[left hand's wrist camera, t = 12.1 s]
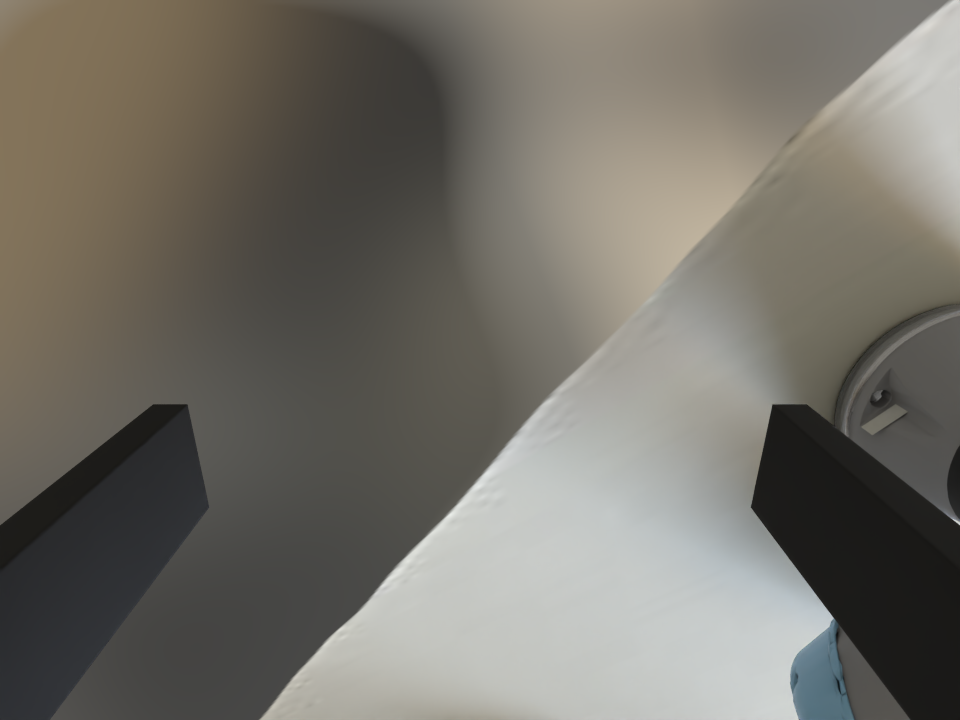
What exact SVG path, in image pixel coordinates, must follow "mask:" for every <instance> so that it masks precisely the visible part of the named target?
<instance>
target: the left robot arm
mask: <svg viewBox="0 0 960 720" xmlns="http://www.w3.org/2000/svg"><path fill="white" fill-rule="evenodd" d="M208 508H209V505H208V500H207V495H206V490H205V486H204V481H203V476H202V471H201V467H200V462H199V457H198V452H197V448H196V443H195V438H194V433H193V429H192V424H191V419H190V414H189V410H188V405H186V404H182V405H180V404H172V405H171V404H167V405H165V404H164V405H163V404H162V405H161V404H159V405H158V404H157V405H156V404H155V405H152V406H151V407H149V408H148V409H147V410H146V411H144V412H143V413H142V414H141V415H139V416H138V417H137V418H136V419H134V420H133V421H132V422H130V423H129V424H128V425H127V426H125V427H124V428H123V429H122V430H120V431H119V432H118V433H117V434H115V435H114V436H113V437H112V438H110V439H109V440H108V441H107V442H105V443H104V444H103V445H101V446H100V447H99V448H98V449H96V450H95V451H94V452H93V453H91V454H90V455H89V456H88V457H86V458H85V459H84V460H82V461H81V462H80V463H79V464H77V465H76V466H75V467H74V468H72V469H71V470H70V471H68V472H67V473H66V474H65V475H63V476H62V477H61V478H60V479H58V480H57V481H56V482H55V483H53V484H52V485H51V486H49V487H48V488H47V489H46V490H44V491H43V492H42V493H41V494H39V495H38V496H37V497H36V498H34V499H33V500H32V501H30V502H29V503H28V504H27V505H25V506H24V507H23V508H22V509H20V510H19V511H18V512H17V513H15V514H14V515H13V516H12V517H10V518H9V519H8V520H7V521H5V522H4V523H3V524H1V525H0V720H50V719H51V717H52V716H53V715H54V713H55V712H56V711H57V709H58V708H59V707H60V705H61V704H62V703H63V701H64V700H65V699H66V697H67V696H68V695H69V693H70V692H71V691H72V689H73V688H74V687H75V685H76V684H77V683H78V681H79V680H80V679H81V677H82V676H83V675H84V673H85V672H86V671H87V669H88V668H89V667H90V665H91V664H92V663H93V661H94V660H95V659H96V657H97V656H98V655H99V653H100V652H101V651H102V649H103V648H104V647H105V645H106V644H107V643H108V641H109V640H110V639H111V637H112V636H113V635H114V633H115V632H116V631H117V629H118V628H119V627H120V625H121V624H122V623H123V621H124V620H125V619H126V617H127V616H128V615H129V613H130V612H131V611H132V609H133V608H134V607H135V605H136V604H137V603H138V601H139V600H140V599H141V597H142V596H143V595H144V593H145V592H146V591H147V589H148V588H149V587H150V585H151V584H152V583H153V581H154V580H155V579H156V577H157V576H158V575H159V573H160V572H161V571H162V569H163V568H164V567H165V565H166V564H167V563H168V561H169V560H170V559H171V557H172V556H173V555H174V553H175V552H176V551H177V549H178V548H179V547H180V545H181V544H182V543H183V541H184V540H185V539H186V537H187V536H188V535H189V533H190V532H191V531H192V529H193V528H194V527H195V525H196V524H197V523H198V521H199V520H200V519H201V517H202V516H203V515H204V513H205V512H206V511H207V509H208ZM751 508H752V509H753V511H754V512H755V513H756V515H757V516H758V517H759V519H760V520H761V521H762V523H763V524H764V525H765V527H766V528H767V529H768V531H769V532H770V533H771V535H772V536H773V537H774V539H775V540H776V541H777V543H778V544H779V545H780V547H781V548H782V549H783V551H784V552H785V553H786V555H787V556H788V557H789V559H790V560H791V561H792V563H793V564H794V565H795V567H796V568H797V569H798V571H799V572H800V573H801V575H802V576H803V577H804V579H805V580H806V581H807V583H808V584H809V585H810V587H811V588H812V589H813V591H814V592H815V593H816V595H817V596H818V597H819V599H820V600H821V601H822V603H823V604H824V605H825V607H826V608H827V609H828V611H829V612H830V613H831V615H832V616H833V617H834V619H833V620H832V621H831V624H830V627H829V628H828V629H826V630H825V631H824V632H823V633H822V634H820V635H819V636H818V637H817V638H816V639H814V640H813V641H812V642H811V643H809V644H808V645H807V646H806V647H805V648H803V649H802V650H801V651H800V652H799V653H798V654H797V656H796V657H795V659H794V661H793V664H792V667H791V674H790V678H791V682H790V684H791V689H792V694H793V702H794V705H795V709H796V712H797V715H798V718H799V720H960V525H959V524H957V523H956V522H955V521H954V520H952V519H955V520H958V521H960V304H956V305H950V306H945V307H940V308H937V309H934V310H930V311H927V312H925V313H922V314H920V315H917V316H915V317H913V318H911V319H909V320H907V321H905V322H904V323H902V324H900V325H898V326H897V327H895V328H894V329H892V330H891V331H889V332H888V333H887V334H885V335H884V336H883V337H881V338H880V339H879V340H878V341H877V342H876V343H875V344H873V345H872V346H871V347H870V348H869V349H868V350H867V351H866V352H865V354H864V355H863V356H862V357H861V358H860V359H859V361H858V362H857V363H856V365H855V366H854V368H853V369H852V371H851V372H850V374H849V375H848V377H847V379H846V381H845V383H844V385H843V387H842V390H841V392H840V395H839V398H838V401H837V406H836V411H835V426H833V425H832V424H831V423H830V422H828V421H827V420H826V419H824V418H823V417H822V416H821V415H819V414H818V413H817V412H816V411H814V410H813V409H812V408H811V407H809V406H808V405H807V404H773V405H772V410H771V414H770V419H769V424H768V429H767V433H766V438H765V443H764V448H763V452H762V457H761V462H760V467H759V471H758V476H757V481H756V485H755V490H754V495H753V500H752V504H751ZM951 518H952V519H951Z"/></svg>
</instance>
